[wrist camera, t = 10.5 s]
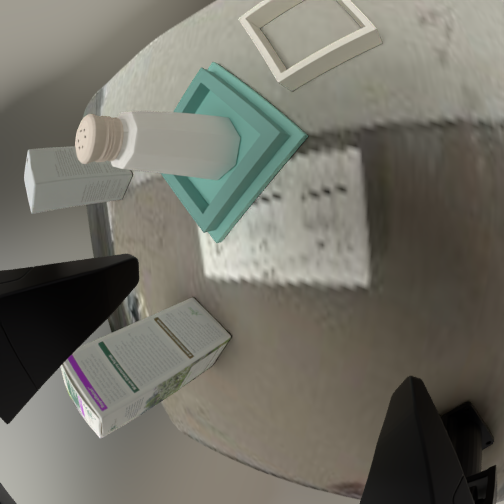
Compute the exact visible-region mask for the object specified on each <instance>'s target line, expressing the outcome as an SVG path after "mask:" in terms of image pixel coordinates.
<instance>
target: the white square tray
mask: <svg viewBox="0 0 504 504" xmlns="http://www.w3.org/2000/svg"><path fill="white" fill-rule="evenodd" d="M302 1H304V0H264V1H262V2H261V3H259V4H258V5H256V6H255V7H253V8H252V9H251V10H249V11H248V12H246V13H245V14H244V15H242V16H241V17H240V18H238V19H239V21H240V22H241V24H242V25H243V27H244V28H245V30H246V31H247V33H248V34H249V36H250V37H251V39H252V40H253V42H254V44H255V45H256V47H257V48H258V50H259V52H260V53H261V55H262V56H263V58H264V60H265V61H266V63H267V65H268V66H269V68H270V70H271V71H272V73H273V75H274V77H275V78H276V80H277V82H278V83H279V84H281V85H283V86H284V87H286V88H287V89H289V90H290V91H294V90H295V89H297V88H299V87H300V86H302V85H304V84H305V83H307V82H309V81H310V80H312V79H314V78H316V77H317V76H319V75H321V74H323V73H324V72H326V71H328V70H330V69H332V68H334V67H336V66H337V65H339V64H341V63H343V62H345V61H347V60H349V59H351V58H353V57H355V56H357V55H359V54H361V53H363V52H365V51H367V50H369V49H371V48H374V47H376V46H378V45H380V44H382V41H381V38H380V36H379V33H378V31H377V29H376V27H375V26H374V25H373V24H372V23H371V22H370V21H369V19H368V18H367V17H366V16H365V15H364V14H363V13H362V12H361V11H360V10H359V9H358V8H357V7H356V6H355V5H354V4H353V3H352V2H351V1H350V0H336V1H337V2H338V3H339V4H340V5H341V6H342V7H343V8H344V9H345V10H346V11H347V12H348V13H349V14H350V15H351V16H352V18H353V19H354V20H355V21H356V22H357V23H358V24H359V26H360V27H361V29H359V30H357V31H355V32H353V33H351V34H349V35H347V36H345V37H343V38H341V39H339V40H337V41H335V42H333V43H332V44H330V45H328V46H326V47H324V48H322V49H321V50H319V51H317V52H315V53H314V54H312V55H310V56H308V57H307V58H305V59H303V60H302V61H300V62H298V63H297V64H295V65H294V66H292V67H290V68H289V69H286V68H285V66H284V64H283V63H282V61H281V60H280V58H279V56H278V55H277V53H276V52H275V50H274V49H273V47H272V46H271V44H270V43H269V41H268V40H267V38H266V37H265V35H264V34H263V32H262V31H261V30H260V28H261V27H263V26H264V25H265V24H267V23H268V22H270V21H271V20H273V19H274V18H276V17H278V16H279V15H281V14H282V13H284V12H285V11H287V10H289V9H290V8H292V7H294V6H295V5H297V4H299V3H300V2H302Z"/></svg>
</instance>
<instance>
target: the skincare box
mask: <svg viewBox="0 0 504 504" xmlns="http://www.w3.org/2000/svg"><path fill="white" fill-rule="evenodd" d="M131 177H132V173H131V171H130V170H127V169H121V168H117V167H113V166H112V164H111V161H105V162H95V161H94V162H91V163H88V164H82V163H81V162H80V161H79V160H78V158H77V154H76V148H75V146H74V147H57V148H56V147H55V148H40V149H30V150H28V154H27V160H26V167H25V174H24V181H25V186H26V190H27V196H28V201H29V205H30V209H31V213H32V214H34V213H39V212H44V211H50V210H56V209H61V208H67V207H73V206H80V205H87V204H94V203H101V202H108V201H116V200H121V199H123V196H124V194H125V191H126V189H127V186H128V184H129V182H130V180H131Z"/></svg>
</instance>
